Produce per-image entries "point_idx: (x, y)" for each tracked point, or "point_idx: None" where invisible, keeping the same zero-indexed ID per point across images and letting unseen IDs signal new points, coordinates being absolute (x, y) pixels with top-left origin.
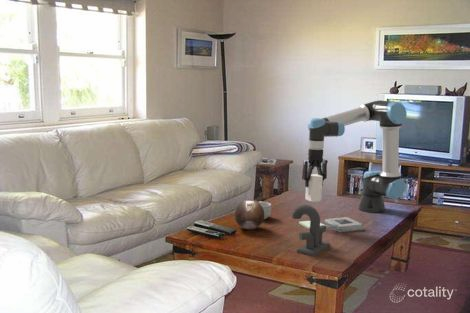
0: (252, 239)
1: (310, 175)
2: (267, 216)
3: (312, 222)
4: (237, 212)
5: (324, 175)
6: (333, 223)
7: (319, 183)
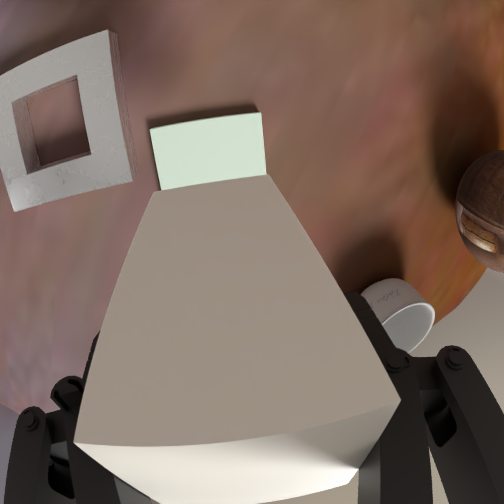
0: (501, 82)
1: (390, 450)
2: (377, 283)
3: None
4: None
5: (43, 462)
6: (115, 91)
7: (164, 309)
